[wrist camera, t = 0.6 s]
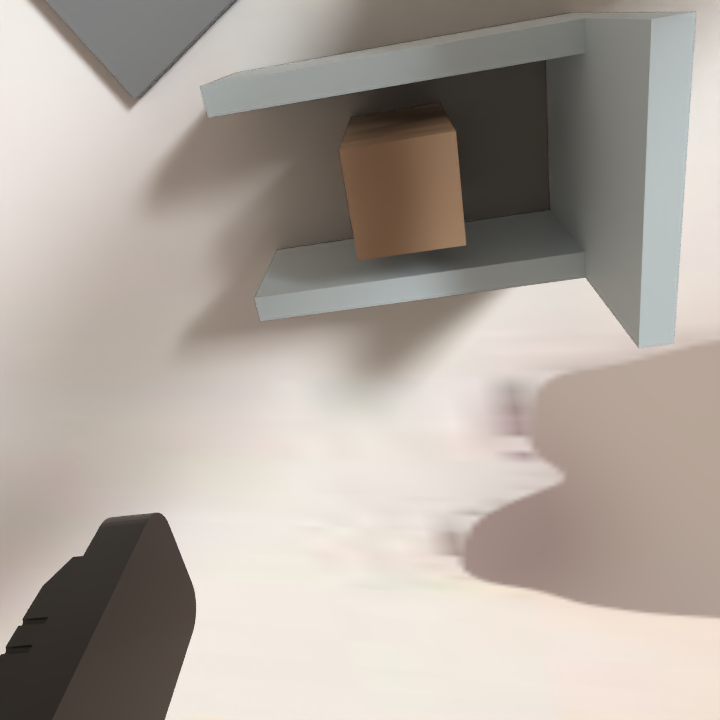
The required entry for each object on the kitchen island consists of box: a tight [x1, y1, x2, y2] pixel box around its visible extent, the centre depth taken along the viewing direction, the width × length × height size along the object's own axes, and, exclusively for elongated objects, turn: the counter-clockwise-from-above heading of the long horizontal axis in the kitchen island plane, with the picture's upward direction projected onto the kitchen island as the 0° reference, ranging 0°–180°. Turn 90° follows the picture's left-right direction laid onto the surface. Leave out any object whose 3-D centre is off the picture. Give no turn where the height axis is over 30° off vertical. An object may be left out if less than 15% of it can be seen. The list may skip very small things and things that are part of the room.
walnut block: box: [339, 103, 466, 261], centre depth 30 cm, size 4×4×9 cm
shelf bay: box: [200, 11, 696, 348], centre depth 28 cm, size 16×10×14 cm, turn 99°
